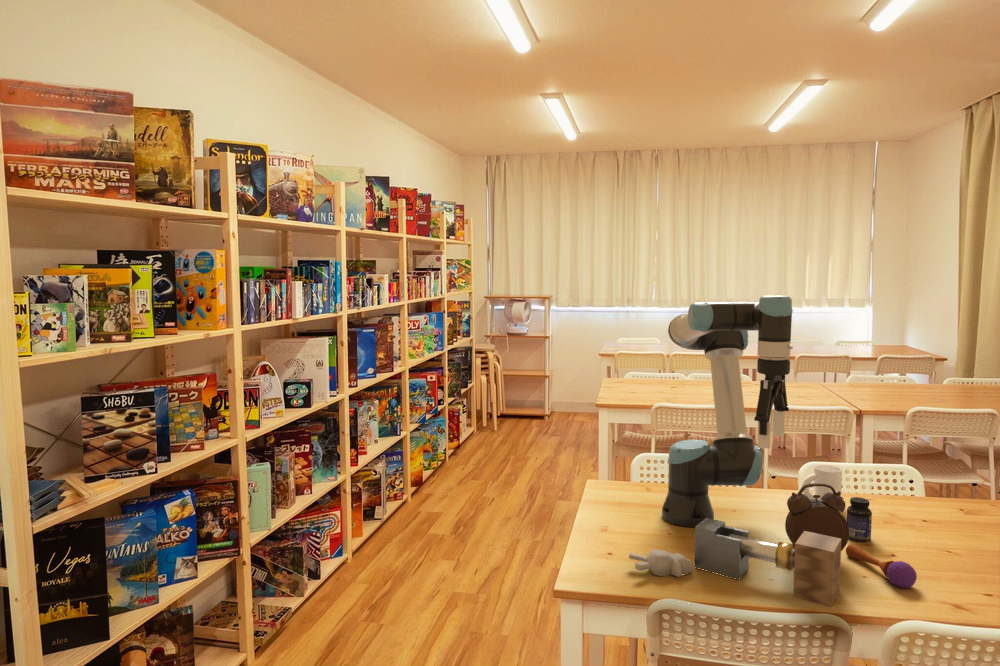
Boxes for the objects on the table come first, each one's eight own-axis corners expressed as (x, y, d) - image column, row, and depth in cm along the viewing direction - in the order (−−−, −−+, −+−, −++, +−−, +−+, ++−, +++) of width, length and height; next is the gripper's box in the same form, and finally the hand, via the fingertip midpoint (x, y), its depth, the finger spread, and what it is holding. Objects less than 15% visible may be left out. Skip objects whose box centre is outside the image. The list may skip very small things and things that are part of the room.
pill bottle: (874, 543, 180) (875, 504, 179) (849, 541, 181) (851, 503, 180) (866, 534, 186) (868, 496, 185) (842, 533, 187) (844, 495, 186)
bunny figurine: (699, 564, 160) (639, 559, 158) (696, 584, 160) (636, 580, 159) (685, 547, 169) (628, 543, 168) (682, 567, 169) (625, 562, 168)
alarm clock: (836, 553, 174) (839, 479, 172) (849, 565, 167) (853, 488, 165) (780, 552, 175) (782, 478, 173) (790, 564, 168) (793, 487, 166)
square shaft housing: (694, 568, 166) (695, 526, 165) (705, 557, 172) (705, 517, 171) (738, 580, 159) (739, 537, 158) (748, 568, 165) (749, 527, 164)
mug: (795, 501, 213) (796, 464, 212) (832, 500, 214) (833, 464, 212) (807, 510, 205) (809, 472, 204) (845, 509, 205) (847, 472, 204)
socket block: (793, 596, 151) (795, 543, 150) (802, 581, 158) (804, 530, 157) (831, 606, 146) (833, 552, 145) (839, 590, 154) (841, 538, 152)
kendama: (863, 540, 173) (924, 567, 153) (859, 562, 173) (920, 593, 153) (843, 537, 172) (902, 565, 152) (839, 560, 172) (898, 590, 152)
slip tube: (725, 558, 162) (726, 535, 161) (733, 550, 166) (734, 527, 166) (809, 579, 150) (810, 554, 150) (815, 570, 155) (816, 545, 154)
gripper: (776, 364, 151) (773, 455, 153) (801, 353, 171) (799, 433, 173) (742, 362, 156) (740, 450, 158) (771, 351, 176) (769, 429, 178)
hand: (771, 441), depth 165 cm, fingers open, 13 cm apart
